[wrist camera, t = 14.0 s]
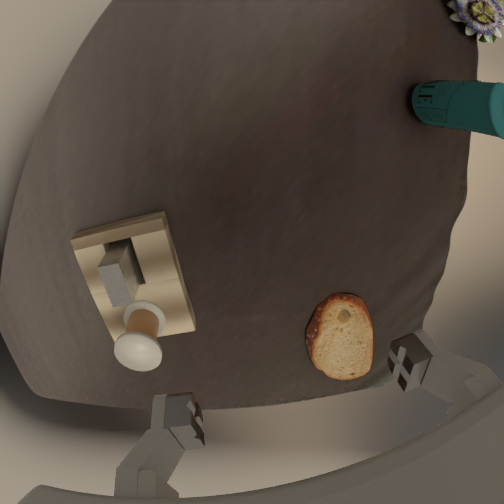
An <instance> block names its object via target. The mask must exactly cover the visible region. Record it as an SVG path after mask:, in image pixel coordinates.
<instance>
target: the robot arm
mask: <svg viewBox="0 0 504 504" xmlns="http://www.w3.org/2000/svg"><path fill="white" fill-rule="evenodd" d="M390 348H391V352H390V353H389V354H388V358H387V362H388V367H389V370H390V371H391V373H392V375H395V376H397V377H398V380H397V382H398V384H399V385H400V386H401V388H402V390H403V391H404V392H407V391H409V390H411V389H414V388H416V387H418V386H421V387H422V388H424V389H426V390H427V391H429V392H431V393H433V394H435V395H437V396H438V397H440V398H442V399H444V400H446V401H447V402H449V403H451V404H452V405H451V407H450V408H449V410H448V412H447V416H448V418H449V419H448V420H447V421H445V422H443V423H441V424H440V425H438V426H436V427H434V428H432V429H431V430H429V431H427V432H425V433H423V434H421V435H419V436H417V437H416V438H413V439H411V440H409V441H407V442H405V443H403V444H401V445H399V446H397V447H394V448H392V449H390V450H388V451H385V452H383V453H381V454H378V455H376V456H374V457H371V458H368V459H366V460H363V461H361V462H358V463H355V464H352V465H350V466H347V467H344V468H341V469H338V470H335V471H332V472H328V473H326V474H322V475H318V476H315V477H311V478H308V479H304V480H301V481H296V482H293V483H288V484H284V485H279V486H275V487H270V488H265V489H259V490H253V491H247V492H241V493H234V494H226V495H217V496H207V497H193V498H192V497H191V498H179V494H178V492H177V491H176V490H175V489H173V488H172V487H171V486H170V485H169V484H167V481H168V480H169V478H170V476H171V475H172V473H173V471H174V469H175V467H176V466H177V464H178V462H179V460H180V458H181V457H182V455H183V453H184V450H187V449H195V448H203V447H205V440H204V433H203V431H202V429H201V427H202V425H203V417H202V412H201V409H200V406H199V404H198V403H197V402H195V396H194V394H193V392H185V393H176V394H166V395H155V396H154V398H153V407H152V420H151V429H150V430H147V431H146V432H145V433H144V435H143V436H142V437H141V439H140V440H139V441H138V442H137V444H136V445H135V446H134V448H133V449H132V450H131V451H130V452H129V454H128V455H127V456H126V458H125V459H124V460H123V461H122V462H121V464H120V465H119V466H118V467H117V469H116V478H115V490H114V496H105V495H96V494H88V493H82V492H75V491H70V490H64V489H59V488H54V487H50V486H46V485H39V486H37V487H35V488H34V489H32V490H31V491H30V492H29V493H28V494H27V495H26V496H25V497H24V498H23V499H21V500H20V501H19V502H18V504H504V382H503V383H501V382H500V381H499V379H498V378H497V377H496V376H495V375H494V374H493V372H492V371H491V370H490V369H489V368H488V367H487V366H486V365H483V364H481V363H478V362H475V361H472V360H469V359H467V358H464V357H461V356H458V355H455V354H453V353H450V352H447V351H444V352H443V351H442V350H441V349H440V348H439V347H438V346H437V345H436V343H435V342H434V341H433V340H432V339H431V338H430V337H429V335H428V334H427V333H426V332H425V331H424V330H422V329H421V330H418V331H416V332H413V333H410V334H408V335H405V336H403V337H400V338H398V339H395V340H393V341H392V342H391V344H390Z"/></svg>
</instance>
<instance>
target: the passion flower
mask: <svg viewBox="0 0 504 504" xmlns="http://www.w3.org/2000/svg"><path fill="white" fill-rule="evenodd" d="M446 5H447V6H448V7H450V8H452V10H453V13H452V14H451V15H450V16H449V18H450V19H451V20H453V21H458V22H463V23H464V24H465V25H466V27H465V33H466V35H473V34H475V33H478V34H482V36H481V37H480V39H479V41H481V42H488V43H489V44H492V43H494V41H495V40H496V37H498V38H502V34H501V31H500V28H499V24H500V25H503V26H504V16H503V15H501V14H500V12H499V11H498V10H502V7H503V6H504V0H451V1H449V2H448V3H447V4H446Z"/></svg>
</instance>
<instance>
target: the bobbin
mask: <svg viewBox="0 0 504 504" xmlns="http://www.w3.org/2000/svg"><path fill="white" fill-rule="evenodd" d="M123 319H124V323H125V325H126V327H127V328H126V332H125V333H123V334H121V335H120V336H119V337H118V338H117V340H116V342H115V346H114V354H115V356H116V358H117V359H118V361H119V362H120V363H121V364H123V365H124V366H126V367H128V368H130V369H132V370H136V371H149V370H152V369H154V368H156V367H157V366H158V365H159V364H160V363H161V359H162V348H161V346H160V344H159V343H158V342H157V336H158V335H159V334H161V333H162V332H163V330H164V328H165V324H166V316H165V313H164V311H163V310H162V309H161V308H160V307H159V306H158V305H157V304H155V303H153V302H151V301H147V300H137V301H134V304H131V305H128V306H127V308H126V310H125V313H124V317H123Z"/></svg>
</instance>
